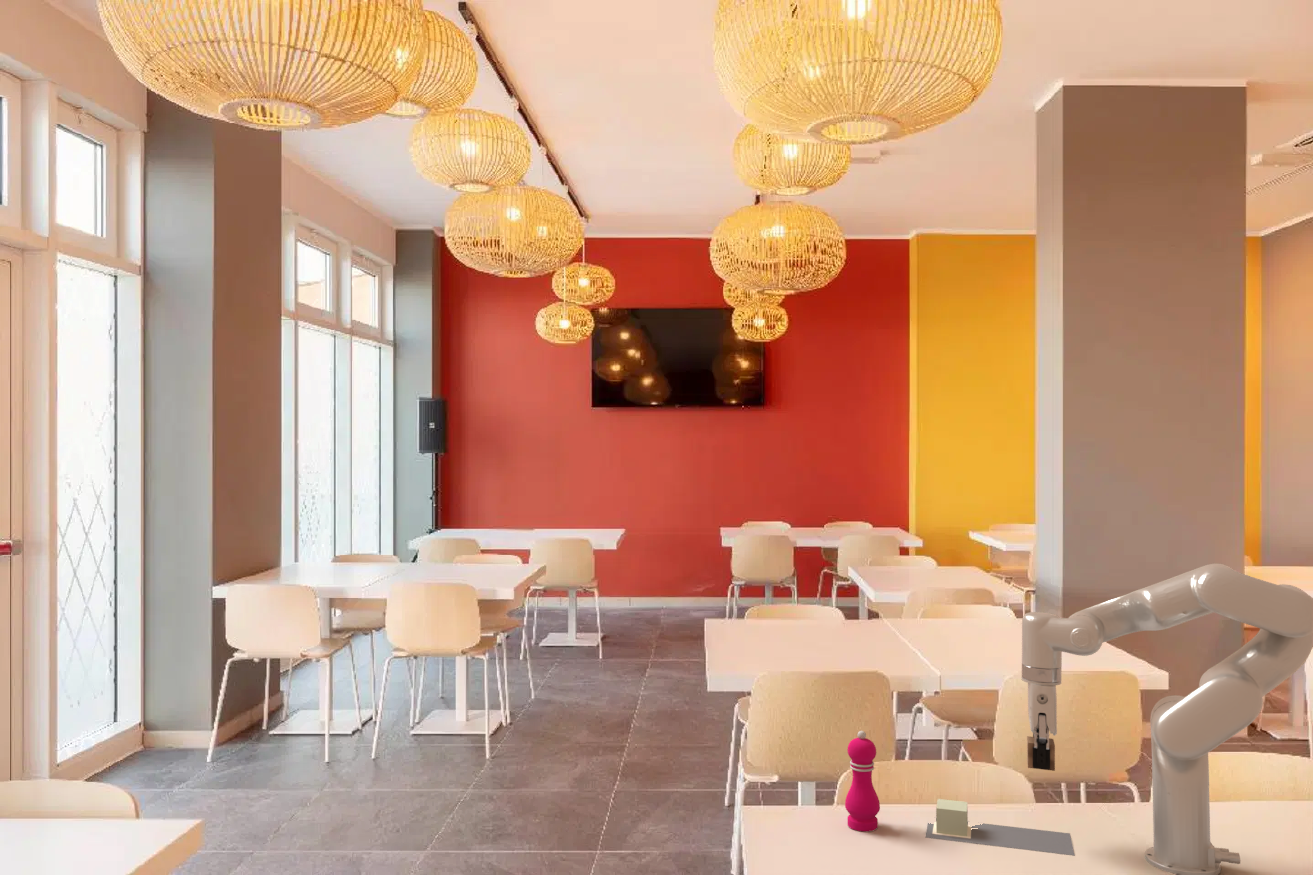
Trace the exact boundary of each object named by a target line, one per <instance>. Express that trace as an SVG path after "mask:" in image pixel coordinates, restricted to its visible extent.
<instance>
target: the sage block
mask: <svg viewBox="0 0 1313 875" xmlns="http://www.w3.org/2000/svg"><path fill="white" fill-rule="evenodd" d="M935 808H936V809H935V812H936V813H935V814H936V816H935V818H936V830H937V833H942V834H951V835H959V836H967V830H968V822H969V820H968V818H969V817H968V801H963V800H952V799H951V800H950V799H942V798H937V801H936V807H935Z"/></svg>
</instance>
